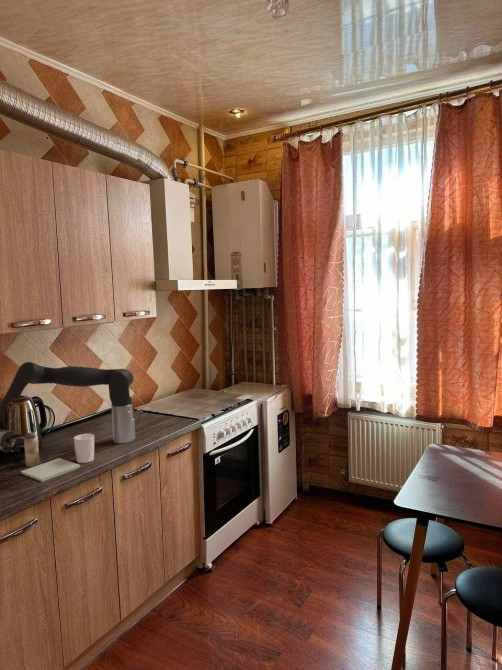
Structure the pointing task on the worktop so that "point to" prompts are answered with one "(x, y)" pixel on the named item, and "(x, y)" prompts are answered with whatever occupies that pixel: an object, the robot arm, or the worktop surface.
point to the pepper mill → (31, 449)
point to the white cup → (84, 448)
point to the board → (50, 469)
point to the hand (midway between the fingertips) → (29, 446)
